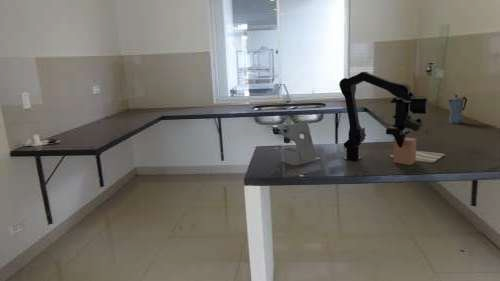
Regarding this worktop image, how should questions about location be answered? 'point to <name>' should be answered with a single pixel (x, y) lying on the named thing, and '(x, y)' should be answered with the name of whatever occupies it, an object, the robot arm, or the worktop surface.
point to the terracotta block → (405, 152)
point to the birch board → (426, 156)
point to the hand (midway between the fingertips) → (400, 147)
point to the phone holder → (299, 145)
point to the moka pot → (456, 109)
